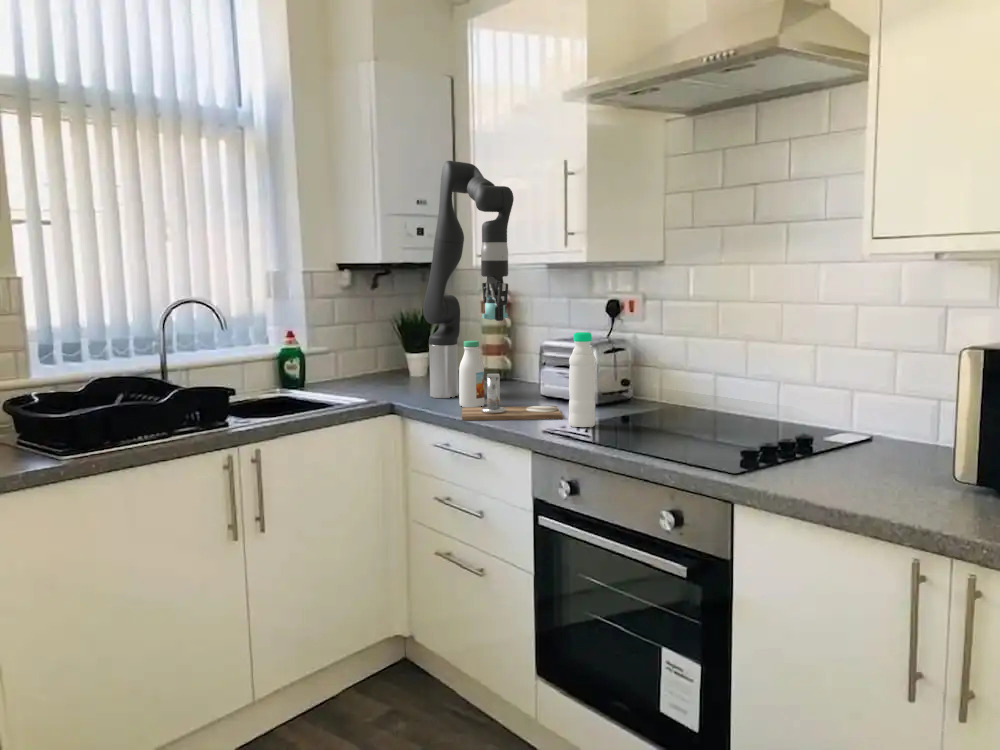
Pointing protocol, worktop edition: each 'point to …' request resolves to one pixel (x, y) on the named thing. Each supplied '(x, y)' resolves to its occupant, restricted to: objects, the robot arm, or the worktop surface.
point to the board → (513, 413)
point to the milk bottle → (471, 377)
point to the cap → (492, 310)
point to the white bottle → (582, 382)
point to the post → (493, 396)
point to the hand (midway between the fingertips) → (495, 319)
